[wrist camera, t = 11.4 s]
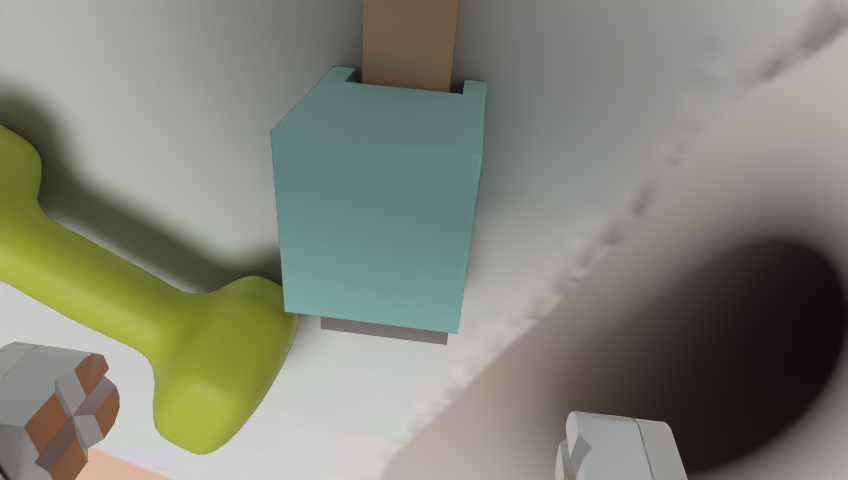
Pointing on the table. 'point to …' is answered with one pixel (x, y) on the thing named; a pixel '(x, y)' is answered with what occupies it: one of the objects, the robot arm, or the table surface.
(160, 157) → the table surface
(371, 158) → the block
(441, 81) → the rail
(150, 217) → the table surface
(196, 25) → the table surface
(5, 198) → the dumbbell
